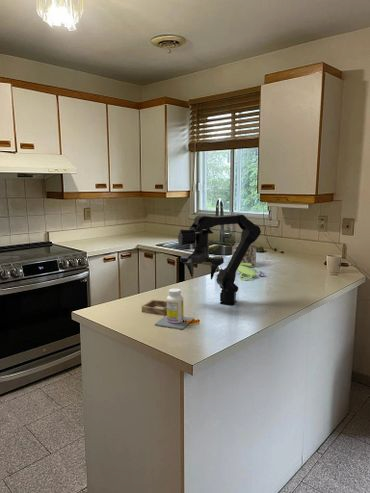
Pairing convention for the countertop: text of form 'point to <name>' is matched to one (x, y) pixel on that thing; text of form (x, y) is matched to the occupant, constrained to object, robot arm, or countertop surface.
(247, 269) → the figurine
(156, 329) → the countertop surface
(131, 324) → the countertop surface
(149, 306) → the walnut holder
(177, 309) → the supplement bottle
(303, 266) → the countertop surface
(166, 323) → the slate mat
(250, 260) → the decorative jar
